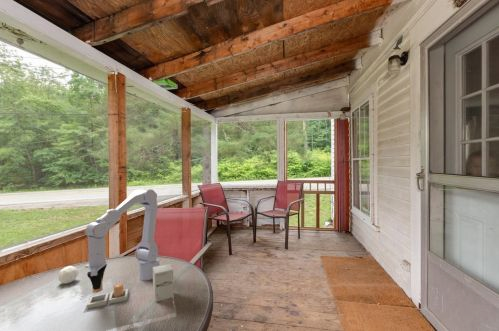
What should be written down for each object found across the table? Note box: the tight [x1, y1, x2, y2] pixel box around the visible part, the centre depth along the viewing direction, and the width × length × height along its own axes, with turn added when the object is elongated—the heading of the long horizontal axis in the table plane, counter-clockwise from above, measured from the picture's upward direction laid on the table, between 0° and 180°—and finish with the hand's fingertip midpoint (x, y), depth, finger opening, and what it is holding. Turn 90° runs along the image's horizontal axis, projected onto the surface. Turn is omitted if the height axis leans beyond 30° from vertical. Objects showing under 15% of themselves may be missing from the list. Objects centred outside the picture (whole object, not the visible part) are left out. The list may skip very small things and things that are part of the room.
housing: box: [83, 288, 131, 313], centre depth 96 cm, size 15×11×3 cm
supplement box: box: [152, 263, 175, 303], centre depth 99 cm, size 7×7×13 cm
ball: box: [57, 265, 79, 285], centre depth 115 cm, size 8×8×8 cm
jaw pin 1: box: [91, 281, 104, 294], centre depth 95 cm, size 3×3×5 cm
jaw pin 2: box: [113, 283, 124, 298], centre depth 98 cm, size 3×3×5 cm
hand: (97, 286), depth 95 cm, fingers closed on jaw pin 1, 3 cm apart
